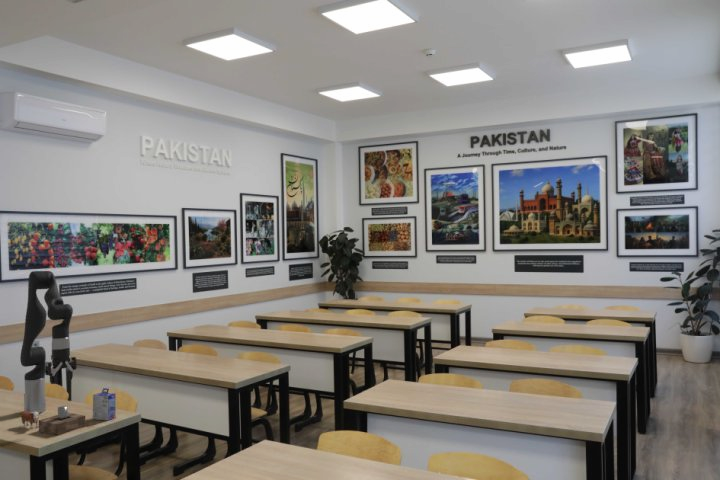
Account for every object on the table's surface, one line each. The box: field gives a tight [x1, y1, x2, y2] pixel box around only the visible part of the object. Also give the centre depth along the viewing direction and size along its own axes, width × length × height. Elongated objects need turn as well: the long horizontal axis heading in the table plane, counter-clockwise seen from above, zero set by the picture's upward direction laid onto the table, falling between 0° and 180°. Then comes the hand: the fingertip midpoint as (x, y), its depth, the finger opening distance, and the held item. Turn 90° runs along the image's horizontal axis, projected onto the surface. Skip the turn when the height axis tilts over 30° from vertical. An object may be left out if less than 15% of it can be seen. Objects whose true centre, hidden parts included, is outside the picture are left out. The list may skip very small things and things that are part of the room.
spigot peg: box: [57, 405, 68, 421], centre depth 268 cm, size 4×4×9 cm
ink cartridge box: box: [92, 387, 117, 422], centre depth 282 cm, size 10×6×14 cm, turn 72°
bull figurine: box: [20, 410, 42, 429], centre depth 271 cm, size 4×13×8 cm, turn 58°
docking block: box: [38, 411, 87, 436], centre depth 268 cm, size 14×14×5 cm
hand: (61, 381), depth 268 cm, fingers open, 8 cm apart
